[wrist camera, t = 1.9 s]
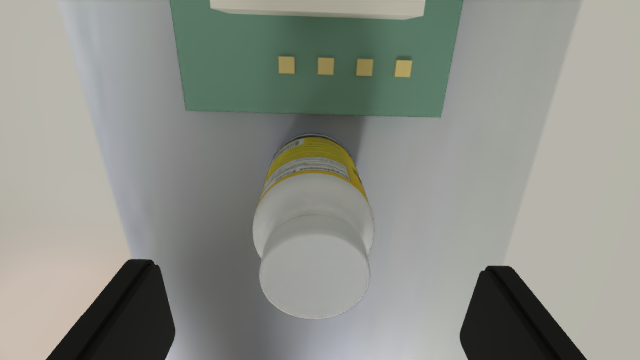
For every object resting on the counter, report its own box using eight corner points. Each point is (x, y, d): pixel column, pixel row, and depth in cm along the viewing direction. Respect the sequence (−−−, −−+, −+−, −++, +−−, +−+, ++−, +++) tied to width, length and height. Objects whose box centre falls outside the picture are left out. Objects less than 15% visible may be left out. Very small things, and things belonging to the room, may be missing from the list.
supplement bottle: (345, 214, 21) (369, 341, 12) (266, 202, 21) (231, 326, 12) (364, 138, 19) (408, 227, 10) (276, 123, 19) (241, 203, 10)
